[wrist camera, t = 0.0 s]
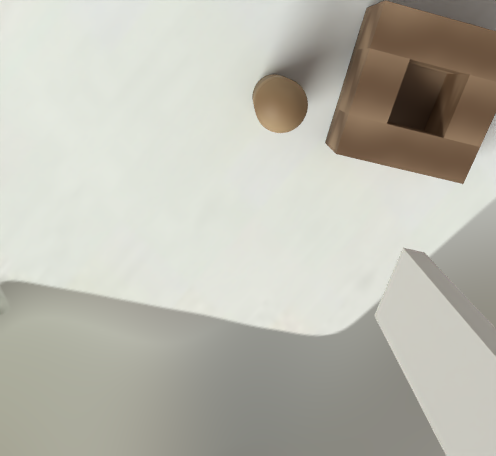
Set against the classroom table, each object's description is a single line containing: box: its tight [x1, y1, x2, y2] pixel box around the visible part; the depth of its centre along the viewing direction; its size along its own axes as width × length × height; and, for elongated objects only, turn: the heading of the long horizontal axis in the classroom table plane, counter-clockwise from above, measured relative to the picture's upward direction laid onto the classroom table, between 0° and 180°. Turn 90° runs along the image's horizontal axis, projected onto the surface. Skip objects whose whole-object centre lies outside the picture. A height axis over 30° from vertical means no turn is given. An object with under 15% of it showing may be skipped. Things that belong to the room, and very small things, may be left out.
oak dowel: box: [253, 74, 308, 133], centre depth 34 cm, size 4×4×8 cm
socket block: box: [325, 0, 496, 184], centre depth 36 cm, size 12×12×5 cm
